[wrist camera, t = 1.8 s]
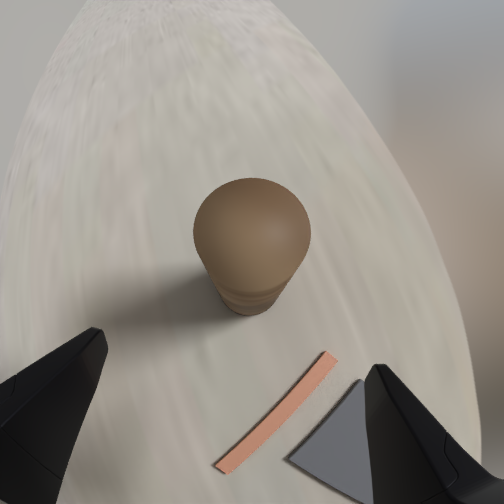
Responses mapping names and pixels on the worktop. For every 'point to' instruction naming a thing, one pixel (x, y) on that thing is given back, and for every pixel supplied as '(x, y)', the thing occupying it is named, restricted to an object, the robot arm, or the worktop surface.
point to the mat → (341, 448)
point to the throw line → (278, 414)
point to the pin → (251, 241)
